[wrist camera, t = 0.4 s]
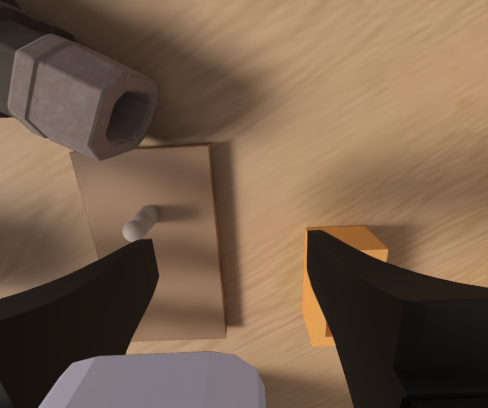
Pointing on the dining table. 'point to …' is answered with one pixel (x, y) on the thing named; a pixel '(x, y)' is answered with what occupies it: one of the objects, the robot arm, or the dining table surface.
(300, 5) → the dining table surface
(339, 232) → the link
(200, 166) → the keeper base
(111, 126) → the tube
